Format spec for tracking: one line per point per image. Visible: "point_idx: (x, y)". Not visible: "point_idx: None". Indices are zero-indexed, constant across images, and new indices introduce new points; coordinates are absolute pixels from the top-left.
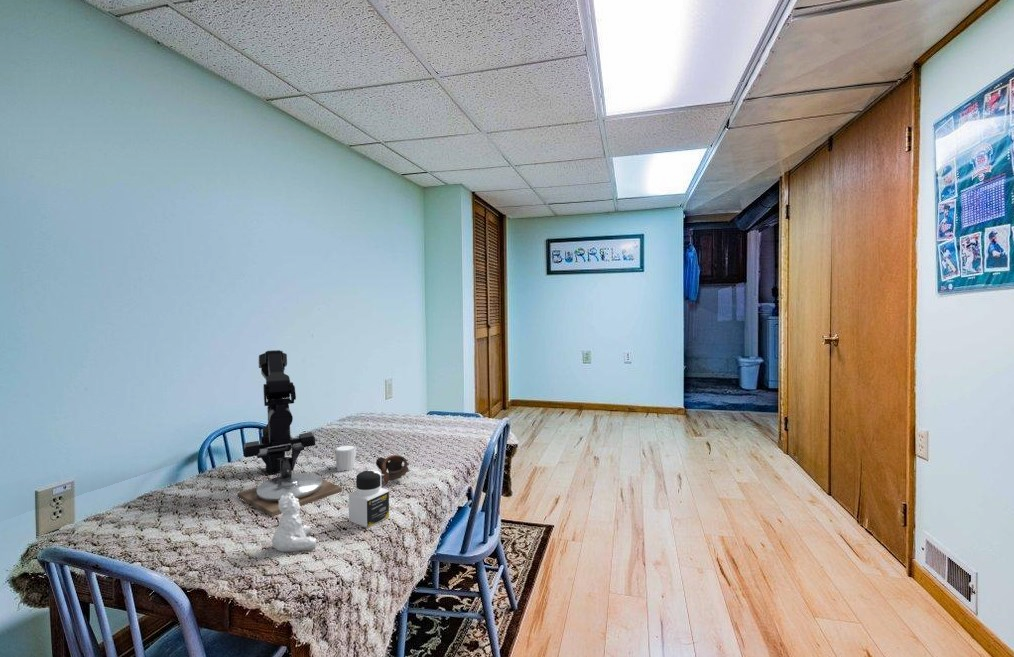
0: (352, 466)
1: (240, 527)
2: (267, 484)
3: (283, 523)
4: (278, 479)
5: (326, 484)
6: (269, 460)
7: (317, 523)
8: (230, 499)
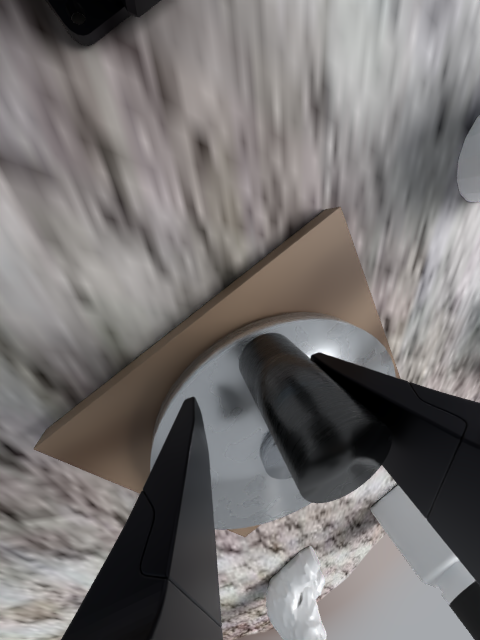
0: None
1: None
2: None
3: None
4: (233, 395)
5: None
6: (220, 631)
7: (325, 522)
8: (20, 448)
